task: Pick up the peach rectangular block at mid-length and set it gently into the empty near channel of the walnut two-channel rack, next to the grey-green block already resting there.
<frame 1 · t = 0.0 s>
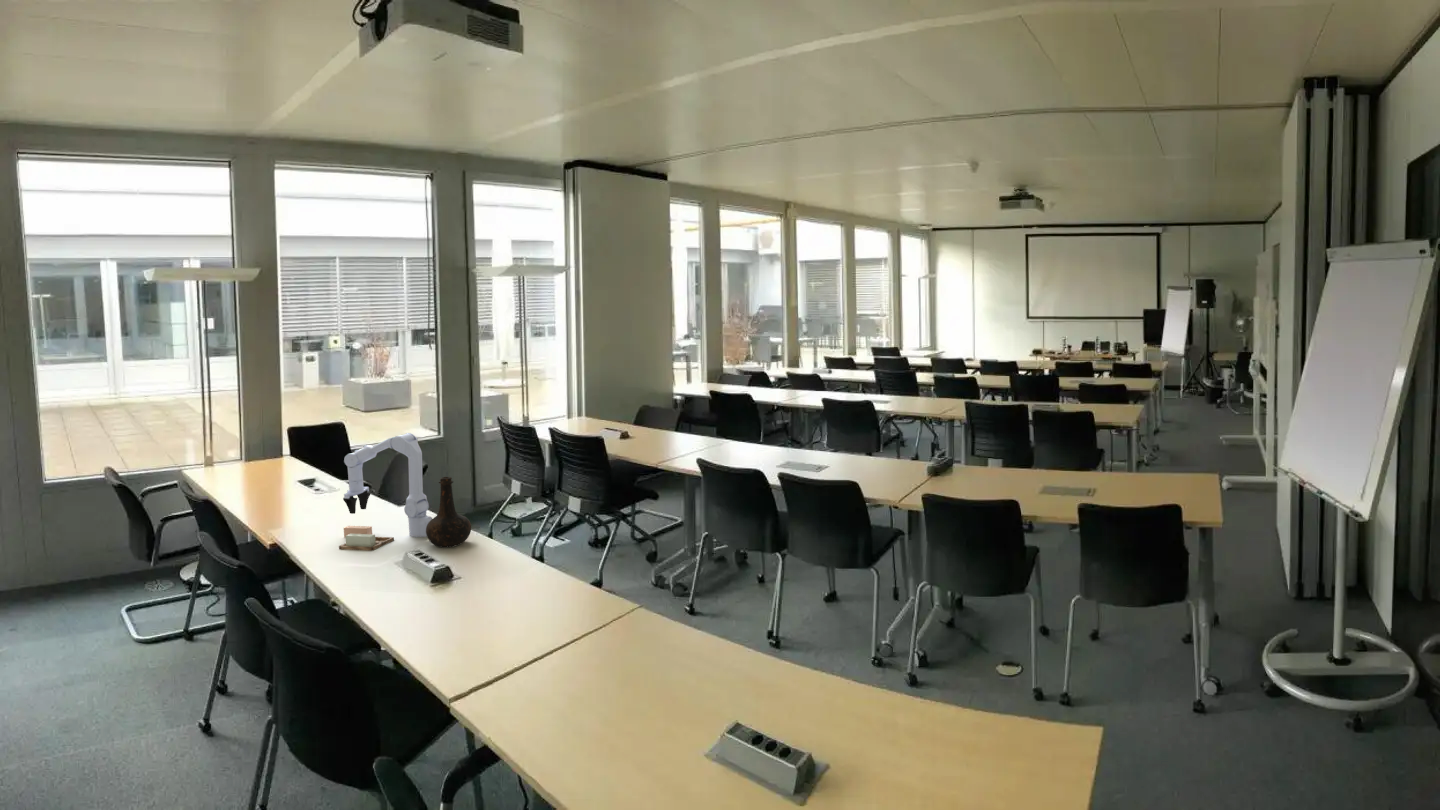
hand: (358, 511, 367), 10 cm above the table, tool pointing down, fingers open, 7 cm apart
peach rectangular block: (358, 538, 362), on the table
rack: (367, 546, 349), on the table
glass bottle: (449, 545, 349), on the table
grey-green block: (361, 547, 345), point 1 cm above the table, touching rack
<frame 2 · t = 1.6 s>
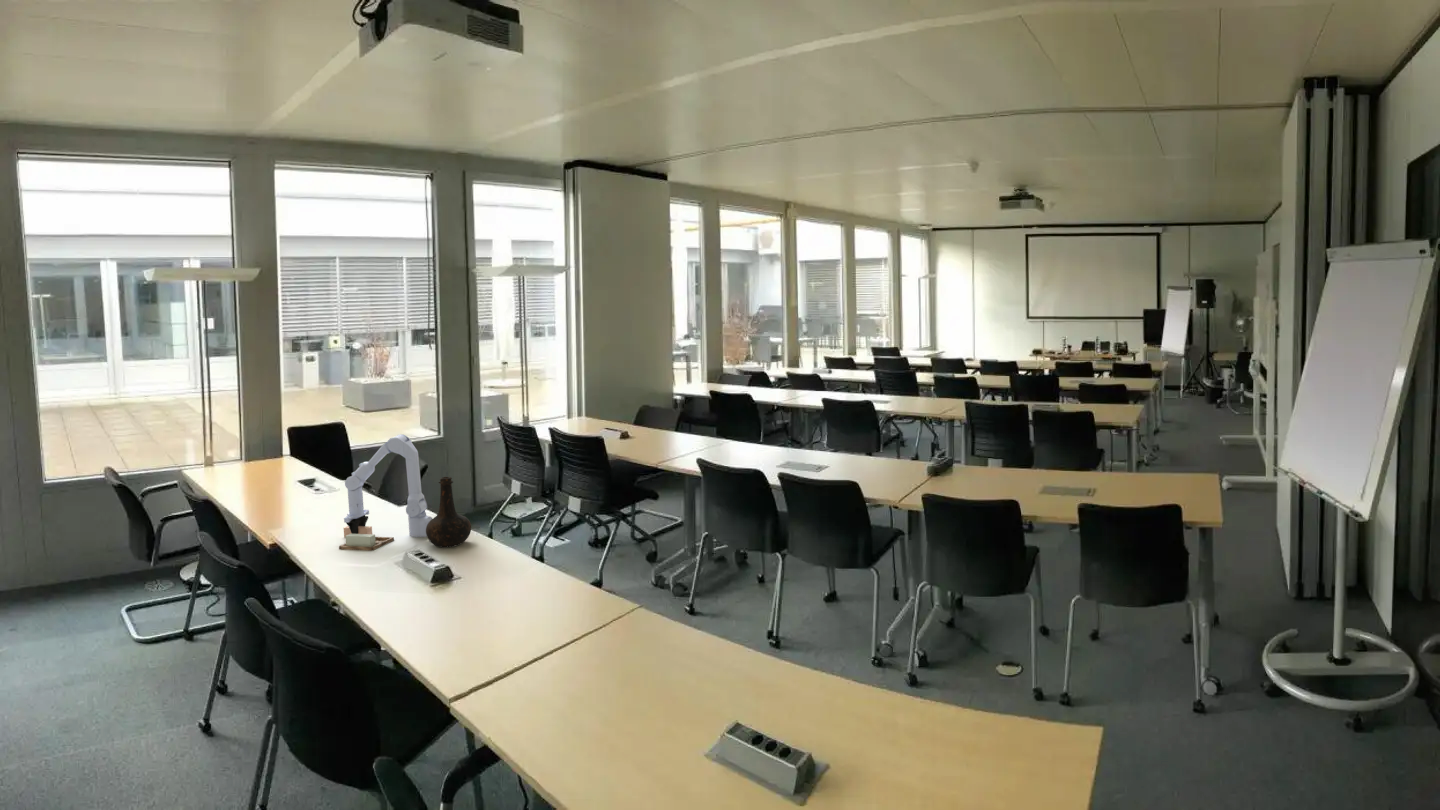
hand: (358, 534, 362), 1 cm above the table, tool pointing down, fingers closed on peach rectangular block, 3 cm apart
peach rectangular block: (358, 538, 362), on the table, touching gripper
everything else where it was.
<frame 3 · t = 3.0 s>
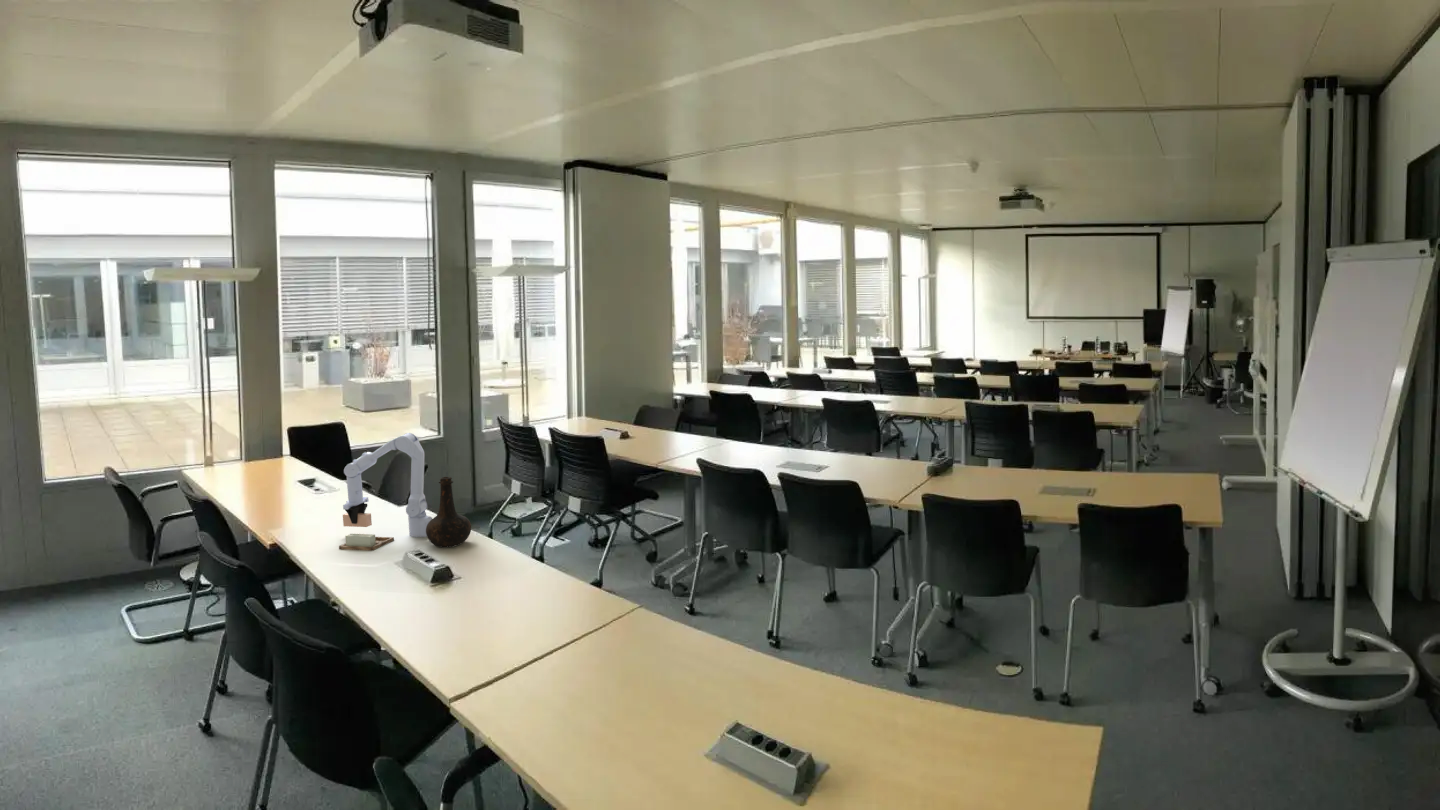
hand: (357, 522, 361), 7 cm above the table, tool pointing down, fingers closed on peach rectangular block, 3 cm apart
peach rectangular block: (357, 525, 361), point 5 cm above the table, touching gripper
everything else where it was.
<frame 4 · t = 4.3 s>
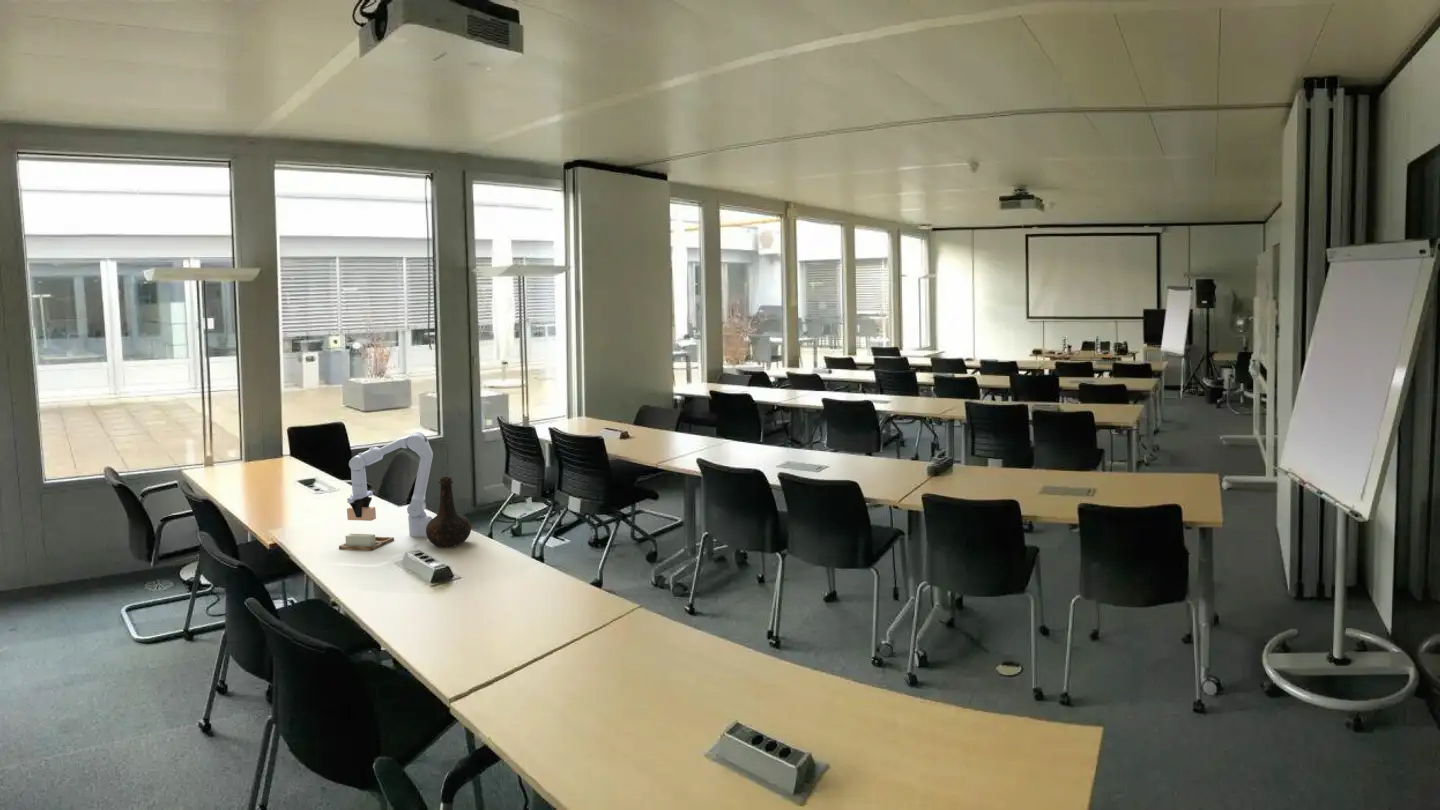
hand: (361, 516, 358), 10 cm above the table, tool pointing down, fingers closed on peach rectangular block, 3 cm apart
peach rectangular block: (361, 519, 358), point 9 cm above the table, touching gripper
everything else where it was.
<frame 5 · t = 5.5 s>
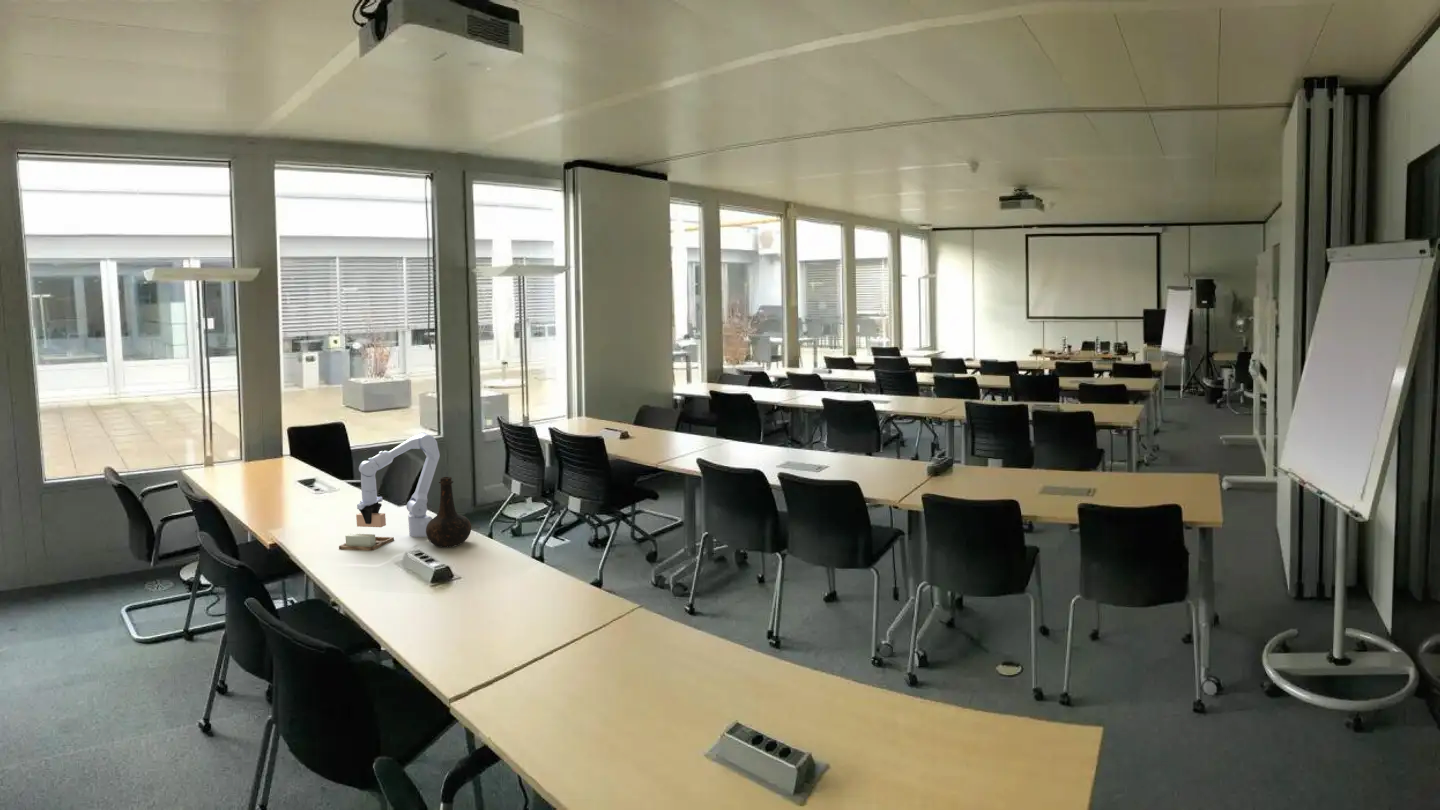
hand: (371, 522, 352), 9 cm above the table, tool pointing down, fingers closed on peach rectangular block, 3 cm apart
peach rectangular block: (371, 525, 352), point 8 cm above the table, touching gripper
everything else where it was.
when the fingers open (4 cm above the table, at t = 6.7 s): peach rectangular block drops 2 cm, resting on rack.
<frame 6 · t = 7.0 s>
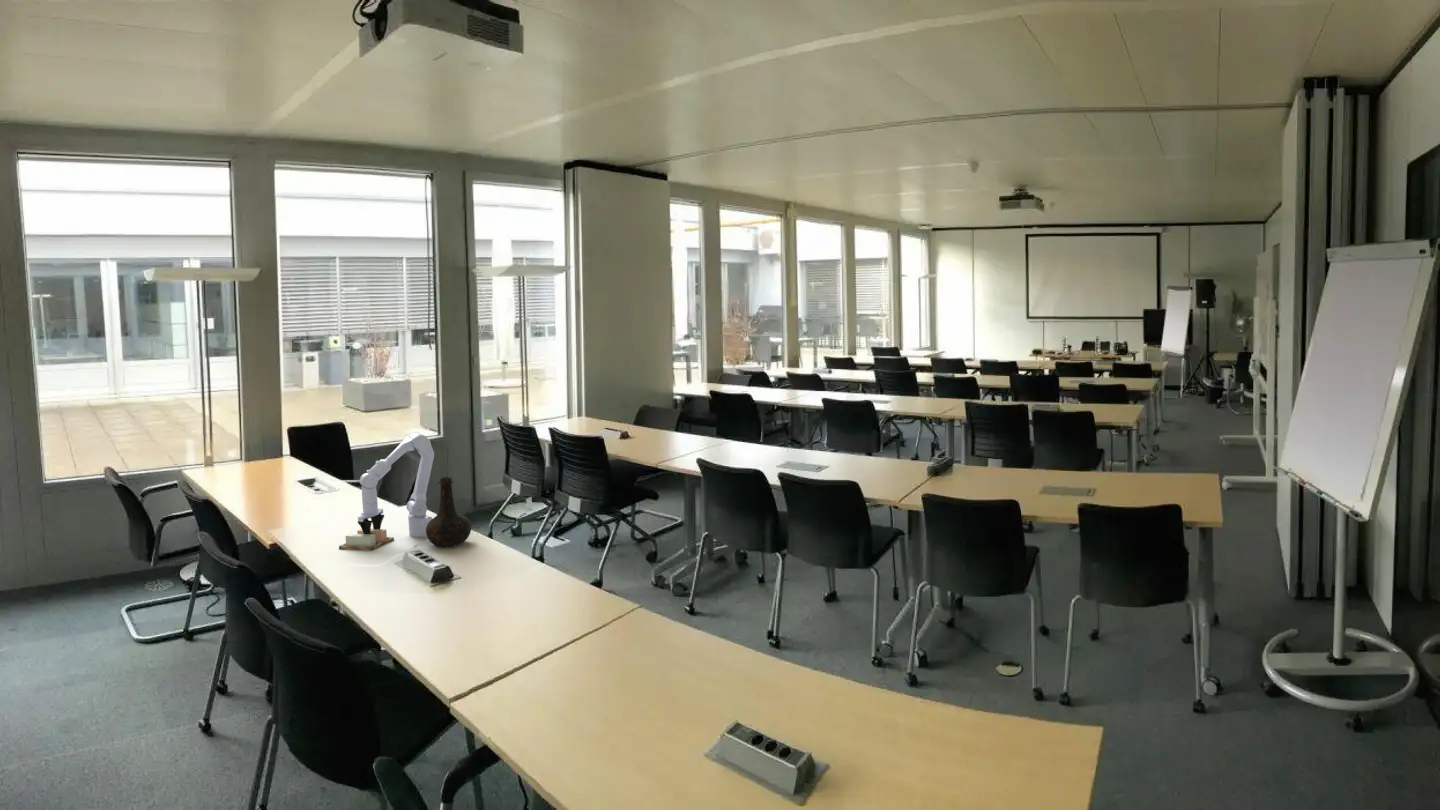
hand: (372, 534, 352), 4 cm above the table, tool pointing down, fingers open, 6 cm apart
peach rectangular block: (372, 541, 353), point 1 cm above the table, touching rack
everything else where it was.
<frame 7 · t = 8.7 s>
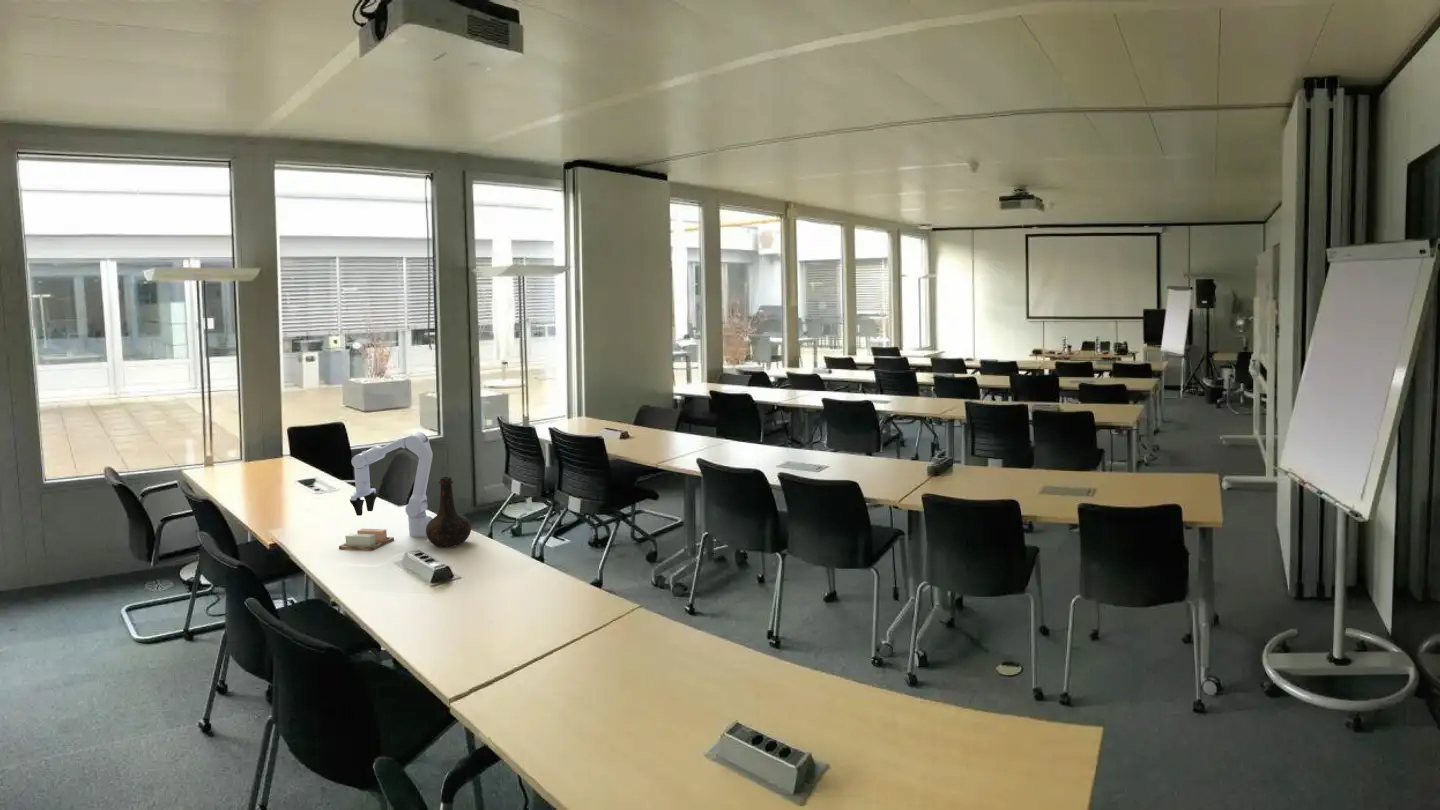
hand: (364, 513, 362), 10 cm above the table, tool pointing down, fingers open, 7 cm apart
nothing on the table moved.
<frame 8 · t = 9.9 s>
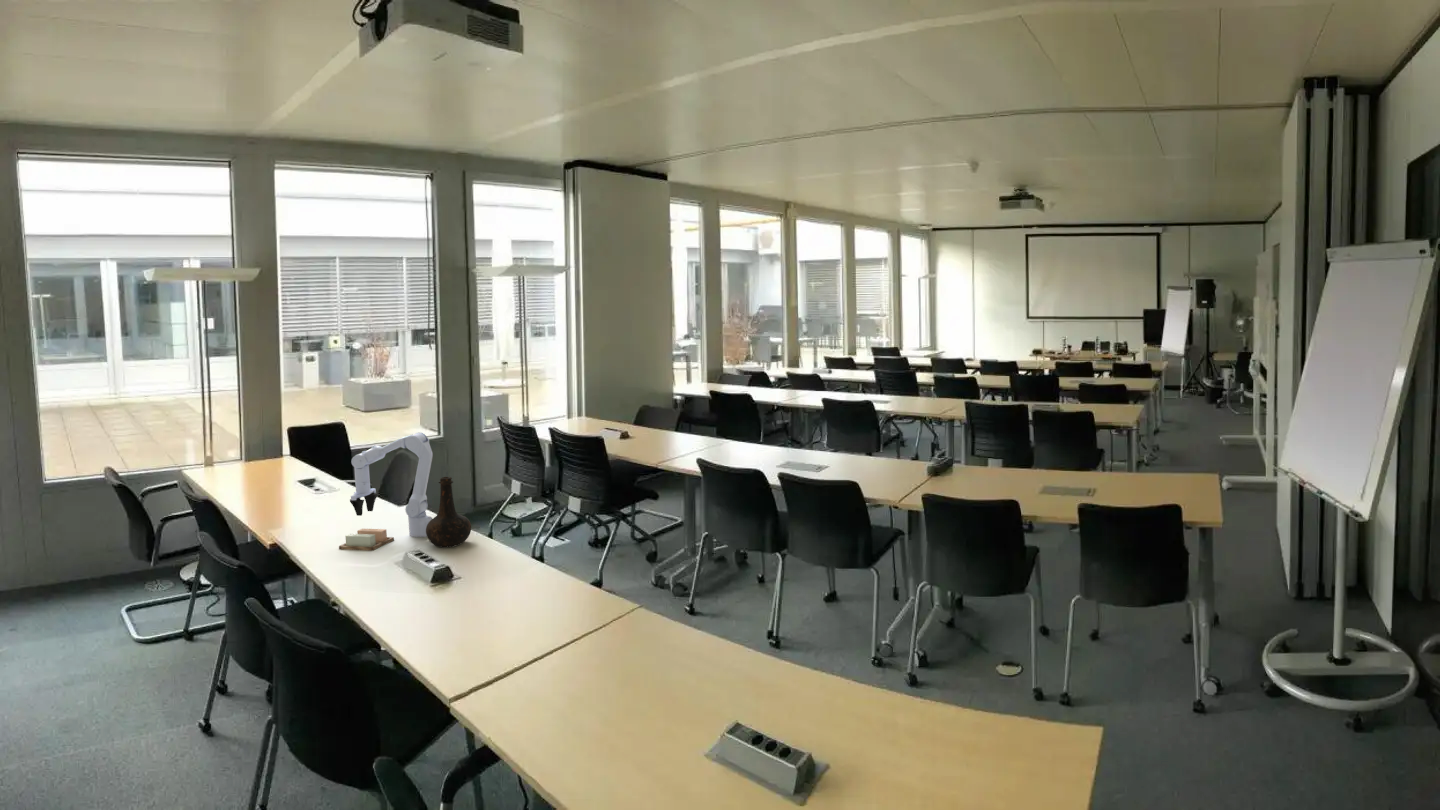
hand: (364, 513, 362), 10 cm above the table, tool pointing down, fingers open, 7 cm apart
nothing on the table moved.
at the end: peach rectangular block 0.1 cm from the target spot on the rack, point 0.8 cm above the rack's base; peach rectangular block tilted 0°; the gripper is holding nothing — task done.
